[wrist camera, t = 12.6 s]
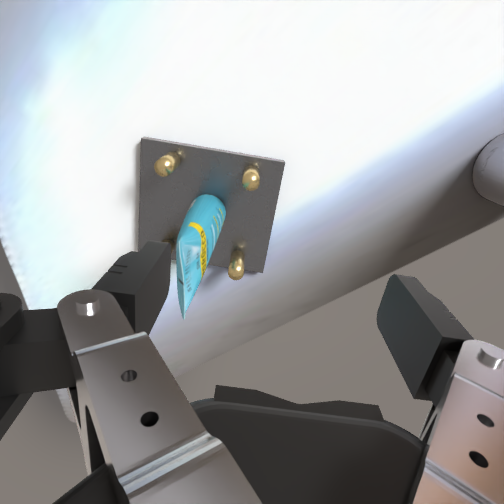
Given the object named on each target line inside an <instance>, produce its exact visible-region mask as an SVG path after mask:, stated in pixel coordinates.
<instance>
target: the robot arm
mask: <svg viewBox="0 0 504 504" xmlns="http://www.w3.org/2000/svg"><path fill="white" fill-rule="evenodd" d="M472 177H473V184H474V186H475V189H476V190H477V192H478V193H479V194H480V195H481V196H483V197H484V198H486V199H488V200H490V201H492V202H495V203H497V204H499V205H501V206H503V207H504V134H502V135H499V136H498V137H496V138H495V139H493V140H492V141H491V142H490V143H489V144H488V145H487V146H485V148H484V149H483V150H482V151H481V153H480V154H479V156H478V158H477V160H476V162H475V165H474V168H473V175H472ZM170 267H171V244H170V243H166V242H159V241H151V240H149V241H148V242H147V243H146V244H145V245H144V247H143V248H142V249H141V250H140V252H133V251H131V252H129V253H127V254H125V255H123V256H121V257H120V258H119V259H118V260H117V261H116V262H115V263H114V264H113V266H112V267H111V268H110V269H109V270H108V272H106V273H105V274H104V275H103V277H102V278H101V279H100V280H99V281H98V282H97V283H96V284H95V285H94V287H93V288H92V289H90V290H81V291H77V292H74V293H71V294H69V295H67V296H65V297H64V298H63V299H61V300H60V302H59V303H58V305H57V308H53V309H39V310H23V307H22V302H21V299H20V298H19V297H17V296H15V295H12V294H7V293H0V440H1V439H2V437H3V436H4V434H5V433H6V431H7V430H8V429H9V427H10V426H11V424H12V423H13V421H14V420H15V419H16V417H17V416H18V414H19V413H20V411H21V410H22V409H23V407H24V406H25V404H26V403H27V401H28V400H29V398H30V397H31V396H32V394H33V392H39V391H47V390H54V389H62V388H67V391H68V394H69V398H70V402H71V406H72V409H73V413H74V417H75V420H76V424H77V428H78V431H79V435H80V439H81V443H82V447H83V452H84V458H85V463H86V468H87V473H88V476H87V477H86V478H85V479H83V480H82V481H81V482H80V483H78V484H77V485H76V486H75V487H73V488H72V489H71V490H69V491H68V492H67V493H65V494H64V495H63V496H62V497H60V498H59V499H58V500H57V501H55V502H54V503H53V504H504V350H502V349H500V348H498V347H496V346H494V345H492V344H489V343H487V342H483V341H479V340H474V339H473V337H472V336H471V335H470V334H469V333H468V332H467V330H466V329H465V328H464V327H463V326H462V325H461V323H460V322H459V321H458V320H455V317H454V315H453V314H452V313H451V312H449V310H448V309H447V307H446V306H445V305H444V304H443V303H442V302H441V301H440V300H439V299H437V298H436V297H434V296H433V295H432V294H430V293H429V292H427V290H426V289H425V288H424V287H423V285H422V284H421V283H420V282H419V281H418V280H417V279H416V278H415V277H409V276H402V275H395V274H394V275H392V276H391V277H390V278H389V281H388V283H387V286H386V289H385V292H384V295H383V297H382V300H381V303H380V307H379V309H378V313H377V325H378V328H379V330H380V332H381V334H382V336H383V338H384V340H385V342H386V344H387V346H388V348H389V350H390V352H391V354H392V356H393V358H394V360H395V362H396V364H397V366H398V368H399V370H400V372H401V374H402V376H403V378H404V380H405V382H406V384H407V386H408V388H409V390H410V392H411V394H412V396H413V398H414V399H421V400H429V401H432V403H433V404H432V406H431V408H430V410H429V412H428V415H427V417H426V420H425V422H424V425H423V427H422V430H421V432H420V435H419V437H416V436H414V435H413V434H411V433H410V432H408V431H406V430H405V429H403V428H401V427H399V426H397V425H395V424H393V423H391V422H388V421H386V420H384V419H383V417H382V414H381V411H380V409H379V406H378V405H371V404H363V403H355V402H346V401H329V402H320V403H309V404H296V403H293V402H290V401H287V400H284V399H281V398H278V397H275V396H272V395H269V394H266V393H264V392H260V391H257V390H251V389H244V388H236V387H228V386H219V385H216V389H215V395H214V398H210V399H204V400H199V401H195V402H192V403H189V401H188V400H187V398H186V396H185V395H184V393H183V391H182V390H181V388H180V386H179V385H178V383H177V382H176V380H175V378H174V377H173V375H172V373H171V372H170V370H169V368H168V367H167V365H166V364H165V362H164V360H163V359H162V357H161V355H160V354H159V352H158V350H157V349H156V347H155V346H154V344H153V342H152V341H151V339H150V337H149V334H150V332H151V329H152V327H153V325H154V323H155V321H156V319H157V317H158V315H159V313H160V311H161V309H162V307H163V305H164V302H165V300H166V298H167V295H168V291H169V285H170Z"/></svg>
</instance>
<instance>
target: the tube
mask: <svg viewBox="0 0 504 504" xmlns="http://www.w3.org/2000/svg"><path fill="white" fill-rule="evenodd" d="M225 216H226V210H225V207H224V204H223V203H222V201H221V200H220V199H218V198H217V197H215V196H213V195H208V194H206V195H201V196H198V197H197V198H195V199H194V200H193V202H192V203H191V205H190V207H189V209H188V212H187V214H186V217H185V219H184V221H183V224H182V226H181V229H180V231H179V235H178V238H177V244H176V264H177V289H178V299H179V305H180V309H181V313H182V317H183V319H185V313H186V310H187V308H188V306H189V305H190V303H191V301H192V298H193V296H194V294H195V292H196V290H197V288H198V286H199V284H200V281H201V279H202V277H203V275H204V272H205V270H206V267H207V265H208V262H209V260H210V257H211V255H212V252H213V250H214V247H215V245H216V242H217V239H218V237H219V234H220V231H221V228H222V226H223V223H224V220H225Z"/></svg>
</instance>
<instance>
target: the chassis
mask: <svg viewBox="0 0 504 504" xmlns="http://www.w3.org/2000/svg"><path fill="white" fill-rule="evenodd" d="M284 166H285V161H284V160H278V159H272V158H267V157H261V156H255V155H249V154H243V153H237V152H231V151H225V150H220V149H214V148H208V147H202V146H196V145H190V144H184V143H178V142H172V141H167V140H161V139H155V138H149V137H143V138H141V169H140V208H139V248H138V252H140V250H141V249H142V248H143V247H144V245H145V244H146V243H147V242H148V241H149V240H151V241H159V242H166V243H170V244H171V259H172V260H176V244H177V238H178V235H179V231H180V229H181V226H182V224H183V221H184V219H185V217H186V214H187V212H188V209H189V207H190V205H191V203H192V202H193V200H194V199H195V198H197V197H198V196H201V195H206V194H208V195H213V196H215V197H217V198H218V199H220V200H221V201H222V203H223V204H224V207H225V210H226V216H225V220H224V223H223V226H222V228H221V231H220V234H219V237H218V239H217V242H216V245H215V247H214V250H213V252H212V255H211V257H210V260H209V262H208V265H213V266H220V267H227V268H229V271H228V275H229V277H230V278H231V279H233V280H239V279H241V278H242V277H243V275H244V270H247V271H254V272H260V273H263V270H264V265H265V260H266V255H267V250H268V245H269V240H270V235H271V230H272V225H273V220H274V215H275V210H276V205H277V200H278V195H279V190H280V185H281V180H282V175H283V171H284Z"/></svg>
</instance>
